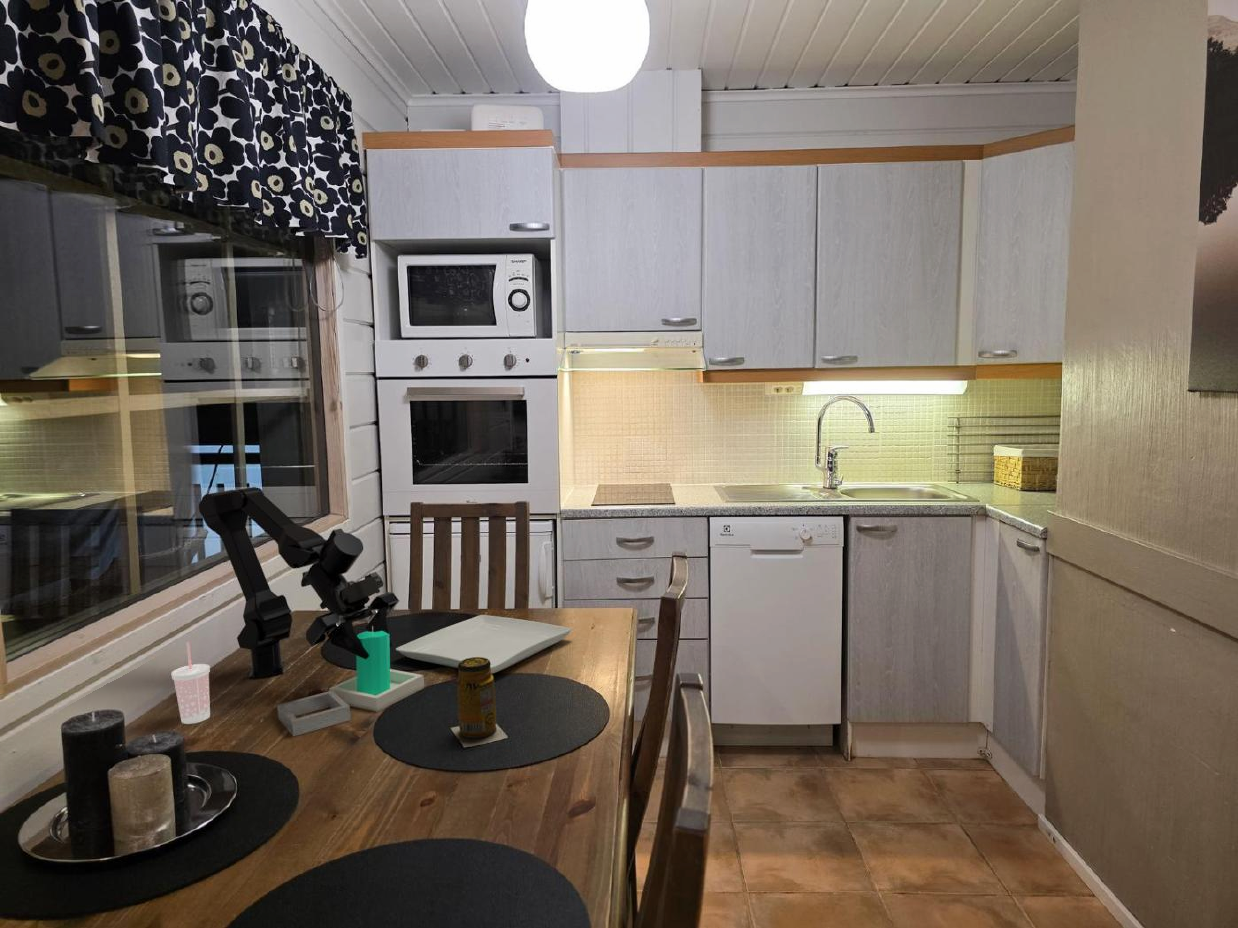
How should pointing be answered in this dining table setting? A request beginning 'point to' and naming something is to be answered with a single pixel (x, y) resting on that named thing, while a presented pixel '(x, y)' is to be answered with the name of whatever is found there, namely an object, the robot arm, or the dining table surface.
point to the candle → (374, 663)
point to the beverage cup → (192, 691)
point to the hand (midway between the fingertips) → (379, 652)
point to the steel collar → (314, 721)
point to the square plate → (485, 641)
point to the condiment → (476, 704)
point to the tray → (399, 689)
